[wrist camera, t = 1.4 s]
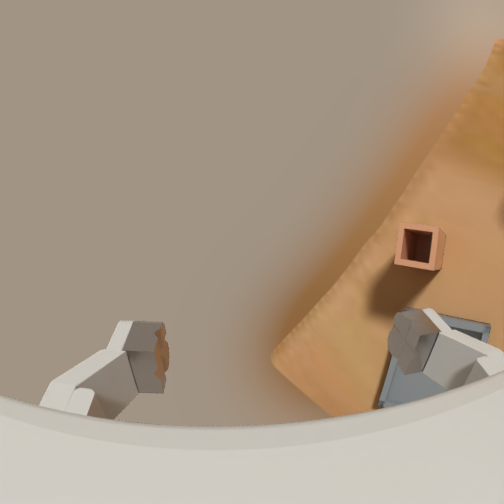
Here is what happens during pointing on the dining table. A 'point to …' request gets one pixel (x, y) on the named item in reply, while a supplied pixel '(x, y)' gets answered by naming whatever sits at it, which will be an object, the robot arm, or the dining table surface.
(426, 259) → the cup
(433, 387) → the tray
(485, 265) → the dining table surface
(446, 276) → the dining table surface
